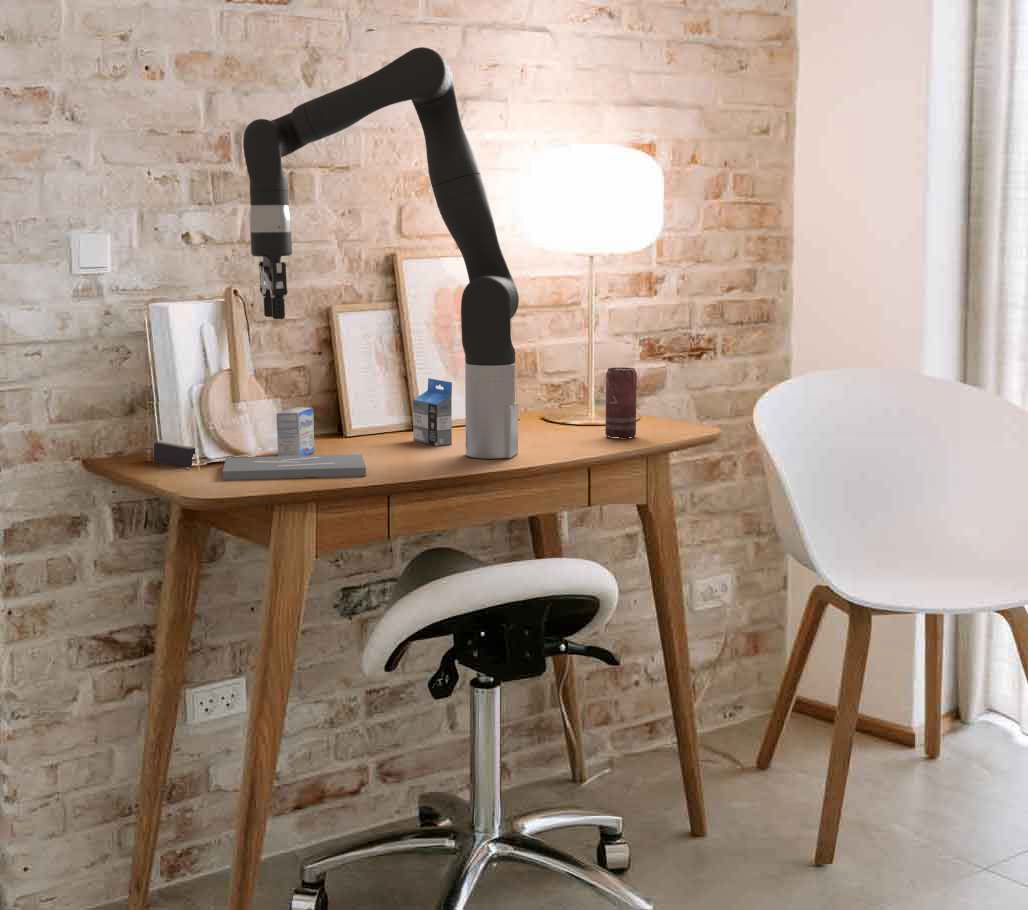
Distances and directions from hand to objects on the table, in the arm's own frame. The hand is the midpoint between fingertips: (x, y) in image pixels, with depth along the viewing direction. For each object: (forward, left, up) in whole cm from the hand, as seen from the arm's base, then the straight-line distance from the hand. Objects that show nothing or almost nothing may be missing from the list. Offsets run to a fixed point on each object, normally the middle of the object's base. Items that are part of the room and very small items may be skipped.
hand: (274, 317), depth 257 cm
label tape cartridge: (-26, -16, -25) cm, 40 cm away
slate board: (-12, +20, -25) cm, 34 cm away
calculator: (+9, +12, -26) cm, 30 cm away
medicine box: (-6, +5, -25) cm, 27 cm away
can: (-61, -32, -25) cm, 73 cm away
